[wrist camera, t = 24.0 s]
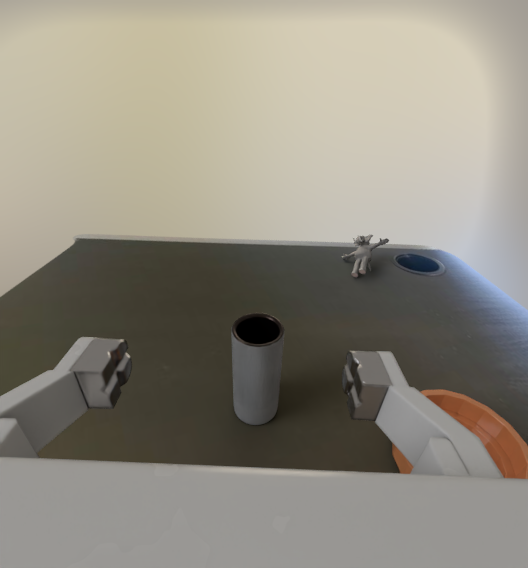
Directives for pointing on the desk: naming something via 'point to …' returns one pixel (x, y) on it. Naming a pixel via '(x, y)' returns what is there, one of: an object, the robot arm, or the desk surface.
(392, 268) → the desk surface
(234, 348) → the tall grey cup
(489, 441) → the bowl
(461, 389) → the desk surface
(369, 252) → the grey figurine
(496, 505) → the robot arm
